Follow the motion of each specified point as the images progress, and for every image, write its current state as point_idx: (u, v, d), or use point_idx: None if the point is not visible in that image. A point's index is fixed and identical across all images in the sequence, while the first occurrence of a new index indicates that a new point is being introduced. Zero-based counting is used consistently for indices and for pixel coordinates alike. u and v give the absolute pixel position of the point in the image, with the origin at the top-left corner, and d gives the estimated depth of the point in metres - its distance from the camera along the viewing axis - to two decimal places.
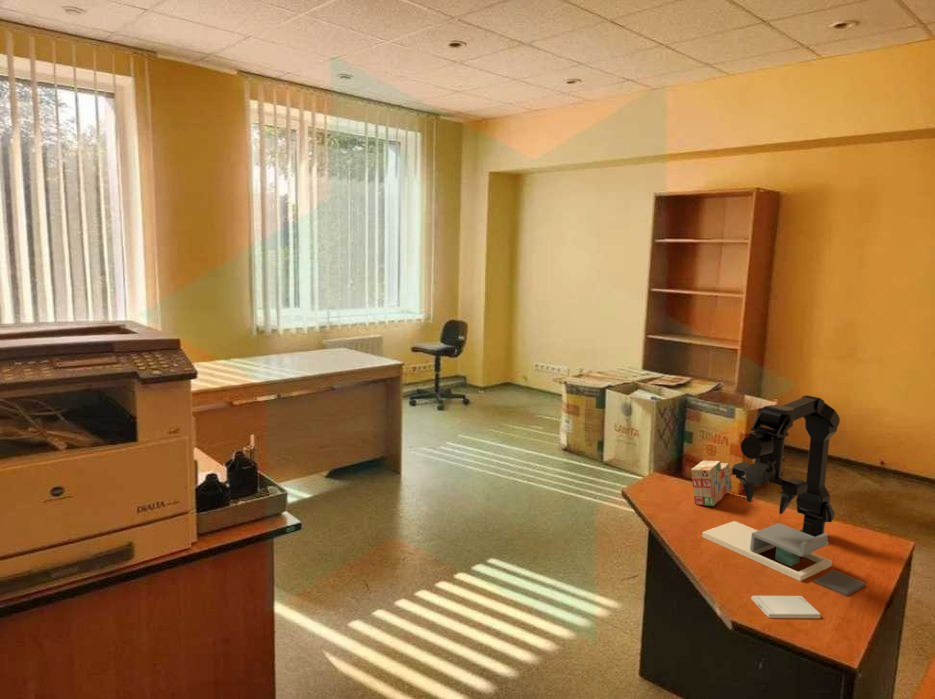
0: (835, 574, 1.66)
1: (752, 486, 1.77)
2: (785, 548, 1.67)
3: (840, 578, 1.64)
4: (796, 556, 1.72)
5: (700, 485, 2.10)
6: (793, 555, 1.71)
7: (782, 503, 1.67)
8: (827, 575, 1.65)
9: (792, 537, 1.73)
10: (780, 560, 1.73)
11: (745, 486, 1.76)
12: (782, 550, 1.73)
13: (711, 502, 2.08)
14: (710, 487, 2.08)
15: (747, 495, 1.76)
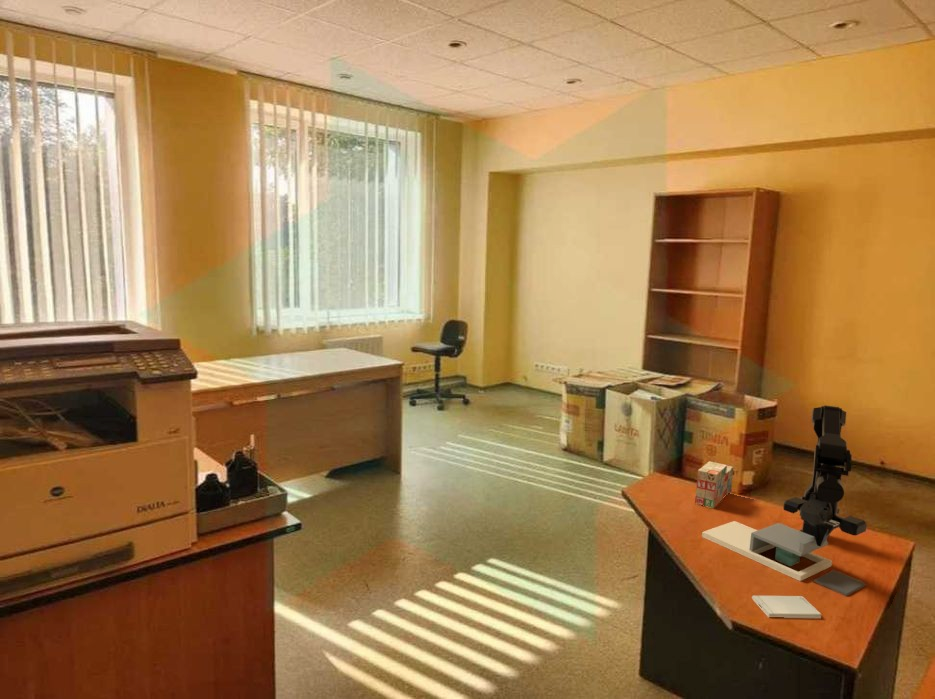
0: (835, 574, 1.66)
1: None
2: (784, 548, 1.67)
3: (840, 578, 1.64)
4: (796, 556, 1.72)
5: (704, 487, 2.10)
6: (793, 555, 1.71)
7: (822, 536, 1.65)
8: (827, 575, 1.65)
9: (791, 537, 1.73)
10: (780, 560, 1.73)
11: (815, 529, 1.66)
12: (782, 550, 1.73)
13: (712, 505, 2.09)
14: (714, 491, 2.08)
15: (817, 538, 1.66)
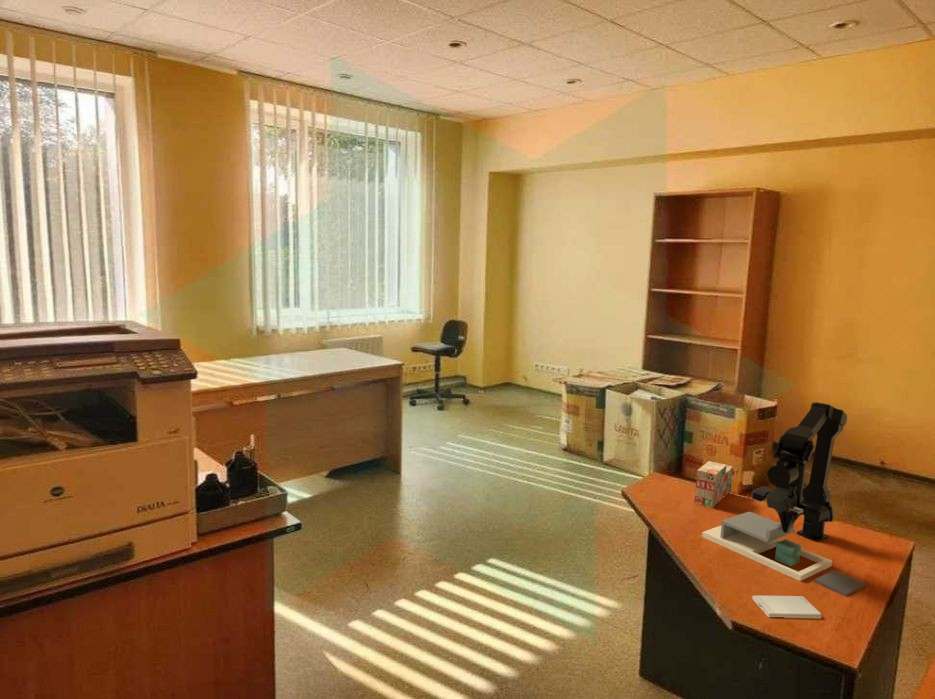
0: (835, 574, 1.66)
1: None
2: (752, 534, 1.75)
3: (840, 578, 1.64)
4: (796, 556, 1.72)
5: (703, 487, 2.10)
6: (793, 555, 1.71)
7: (787, 522, 1.72)
8: (827, 575, 1.65)
9: (760, 524, 1.81)
10: (780, 560, 1.73)
11: (781, 516, 1.73)
12: (782, 550, 1.73)
13: (711, 505, 2.09)
14: (713, 490, 2.08)
15: (783, 525, 1.74)
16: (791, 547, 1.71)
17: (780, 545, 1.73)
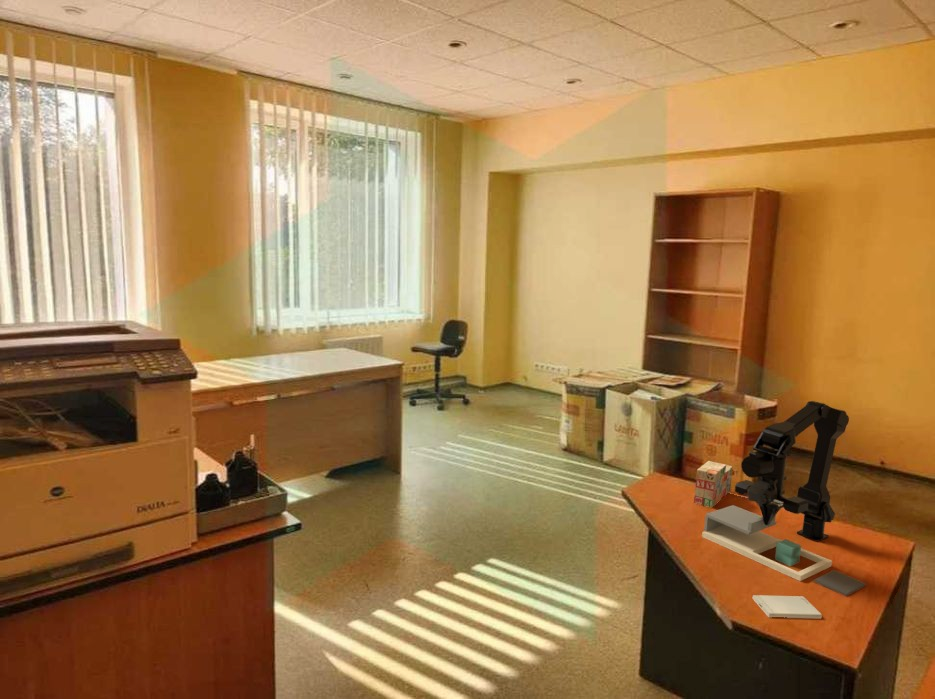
0: (835, 574, 1.66)
1: None
2: (734, 527, 1.79)
3: (840, 578, 1.64)
4: (796, 556, 1.72)
5: (703, 487, 2.10)
6: (793, 555, 1.71)
7: (768, 515, 1.77)
8: (827, 575, 1.65)
9: (743, 517, 1.85)
10: (780, 560, 1.73)
11: (762, 509, 1.78)
12: (782, 550, 1.73)
13: (710, 504, 2.09)
14: (713, 490, 2.08)
15: (764, 518, 1.78)
16: (791, 547, 1.71)
17: (780, 545, 1.73)
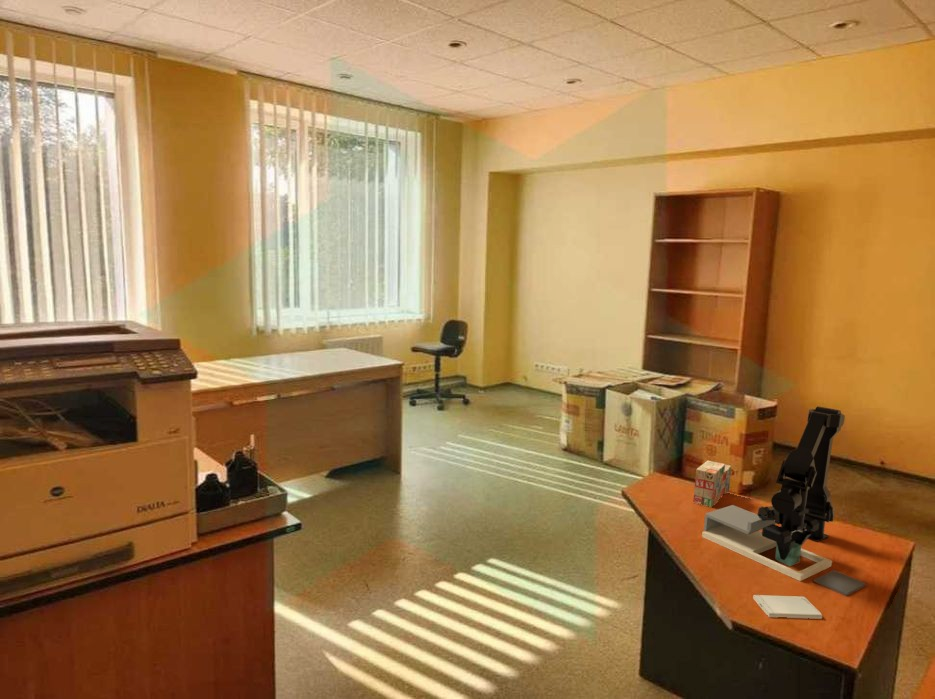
0: (835, 574, 1.66)
1: (797, 542, 1.74)
2: (734, 527, 1.79)
3: (840, 578, 1.64)
4: (796, 556, 1.72)
5: (702, 486, 2.11)
6: (793, 555, 1.71)
7: None
8: (827, 575, 1.65)
9: (742, 517, 1.85)
10: (780, 560, 1.73)
11: None
12: None
13: (710, 504, 2.10)
14: (712, 490, 2.09)
15: None
16: None
17: None
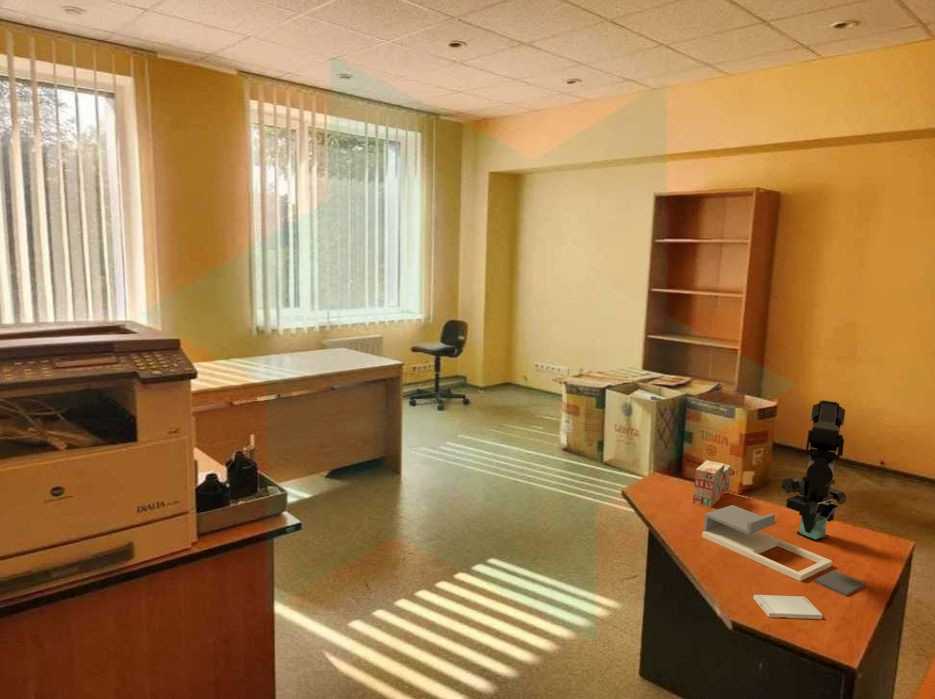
0: (835, 574, 1.66)
1: (823, 514, 1.67)
2: (734, 527, 1.79)
3: (840, 578, 1.64)
4: (822, 529, 1.66)
5: (702, 486, 2.11)
6: (818, 527, 1.65)
7: None
8: (827, 575, 1.65)
9: (742, 517, 1.85)
10: (805, 533, 1.67)
11: None
12: None
13: (709, 504, 2.10)
14: (711, 489, 2.09)
15: None
16: None
17: None
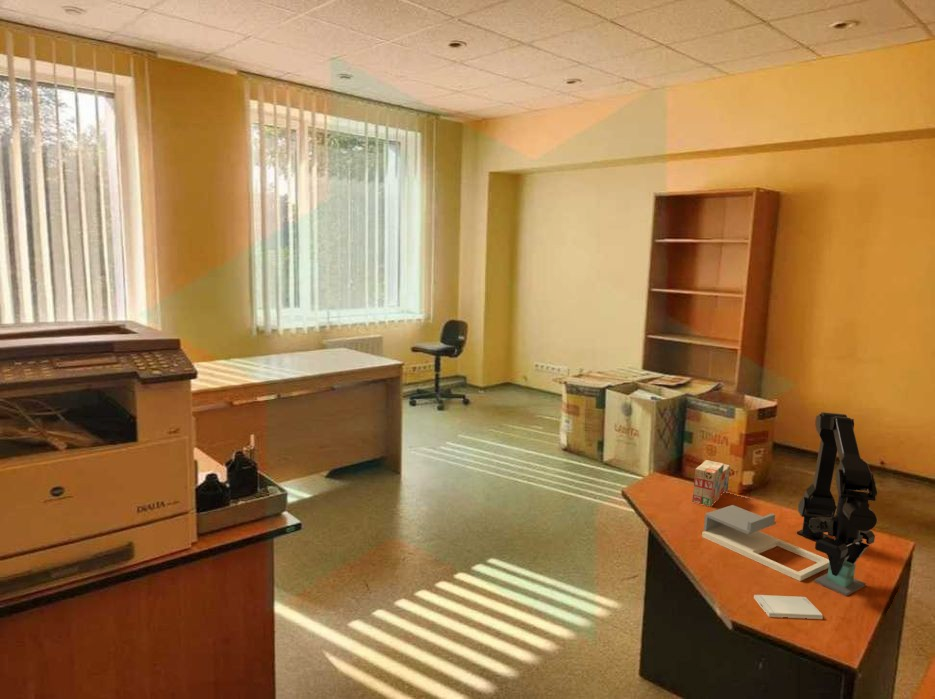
0: None
1: (854, 554, 1.63)
2: (734, 527, 1.79)
3: None
4: (850, 576, 1.61)
5: (701, 486, 2.11)
6: (848, 575, 1.60)
7: None
8: (827, 575, 1.65)
9: (742, 517, 1.85)
10: (833, 580, 1.62)
11: None
12: None
13: (709, 503, 2.10)
14: (711, 489, 2.09)
15: None
16: (845, 567, 1.60)
17: None
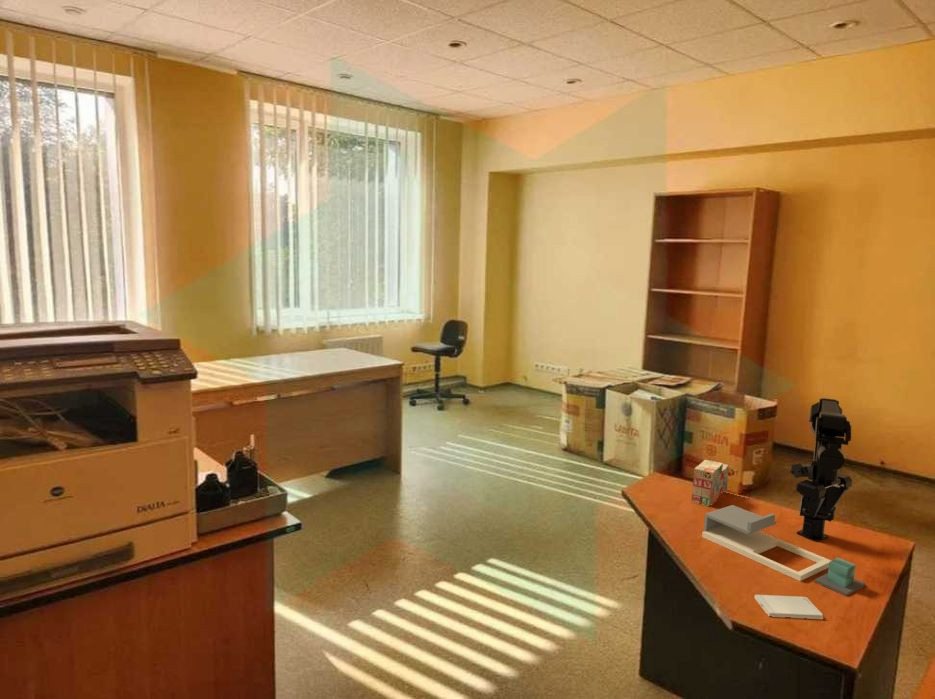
0: None
1: (835, 496, 1.76)
2: (734, 527, 1.79)
3: None
4: (850, 576, 1.61)
5: (700, 485, 2.11)
6: (848, 575, 1.60)
7: None
8: (827, 575, 1.65)
9: (742, 517, 1.85)
10: (833, 580, 1.62)
11: None
12: (835, 570, 1.61)
13: (708, 503, 2.11)
14: (710, 489, 2.10)
15: None
16: (845, 567, 1.60)
17: (833, 565, 1.62)
